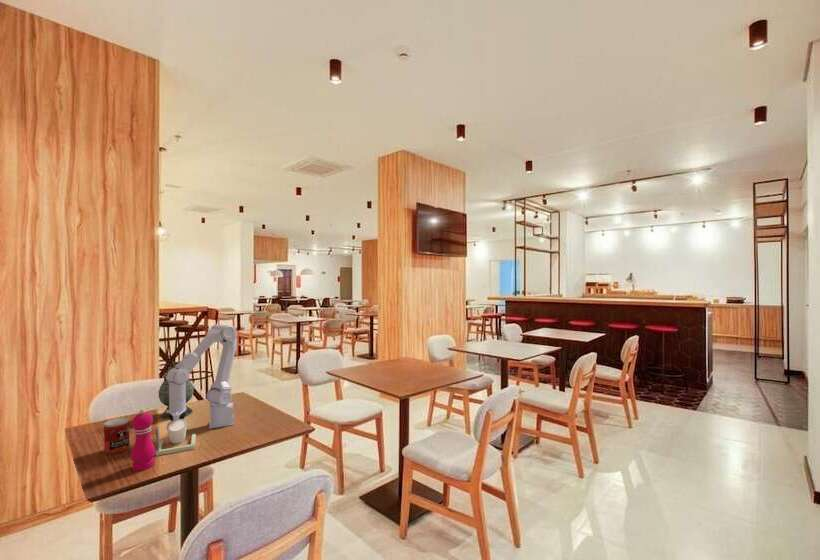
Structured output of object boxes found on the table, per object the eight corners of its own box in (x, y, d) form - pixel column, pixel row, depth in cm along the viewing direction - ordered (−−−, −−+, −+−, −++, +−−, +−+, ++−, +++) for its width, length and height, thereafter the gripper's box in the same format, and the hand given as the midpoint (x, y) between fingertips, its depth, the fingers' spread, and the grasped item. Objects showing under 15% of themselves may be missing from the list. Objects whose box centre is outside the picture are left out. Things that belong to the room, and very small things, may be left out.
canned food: (110, 456, 143) (109, 426, 143) (100, 451, 148) (100, 422, 147) (133, 448, 150) (133, 420, 150) (124, 443, 154) (123, 416, 154)
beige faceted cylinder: (179, 447, 153) (178, 434, 150) (163, 442, 153) (162, 429, 150) (191, 434, 159) (190, 421, 156) (175, 429, 160) (174, 416, 157)
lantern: (152, 419, 180) (151, 365, 179) (171, 408, 194) (170, 358, 194) (182, 419, 179) (181, 365, 179) (199, 408, 194) (198, 358, 193)
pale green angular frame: (195, 437, 160) (195, 413, 159) (194, 448, 149) (193, 422, 149) (152, 444, 153) (152, 419, 153) (148, 457, 142) (147, 430, 142)
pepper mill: (138, 462, 139) (137, 406, 139) (160, 461, 140) (159, 405, 139) (125, 472, 132) (124, 413, 132) (148, 471, 132) (147, 412, 132)
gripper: (167, 394, 163) (168, 427, 163) (163, 405, 150) (164, 440, 150) (187, 392, 166) (187, 424, 166) (184, 402, 153) (185, 437, 153)
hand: (178, 431), depth 158 cm, fingers closed, pressing on beige faceted cylinder
